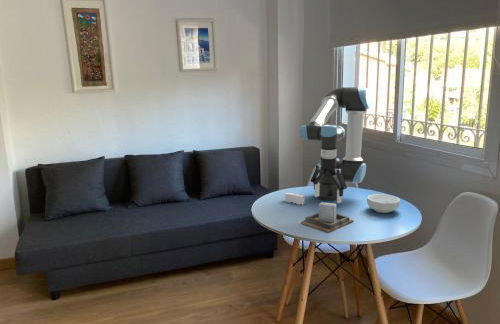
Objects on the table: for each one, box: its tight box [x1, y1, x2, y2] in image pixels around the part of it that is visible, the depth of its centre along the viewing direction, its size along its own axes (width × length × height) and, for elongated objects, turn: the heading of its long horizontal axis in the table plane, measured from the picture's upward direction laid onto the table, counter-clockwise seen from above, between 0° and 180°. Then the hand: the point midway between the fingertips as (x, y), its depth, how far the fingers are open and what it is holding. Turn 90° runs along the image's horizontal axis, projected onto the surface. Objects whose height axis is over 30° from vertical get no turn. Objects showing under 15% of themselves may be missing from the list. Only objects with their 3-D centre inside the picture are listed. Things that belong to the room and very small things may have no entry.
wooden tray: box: [300, 211, 354, 234], centre depth 202 cm, size 20×17×3 cm
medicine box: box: [318, 201, 337, 223], centre depth 201 cm, size 8×4×9 cm, turn 65°
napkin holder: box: [284, 192, 306, 206], centre depth 233 cm, size 15×11×6 cm
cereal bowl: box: [366, 193, 401, 214], centre depth 217 cm, size 17×17×7 cm
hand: (327, 199), depth 200 cm, fingers open, 13 cm apart
